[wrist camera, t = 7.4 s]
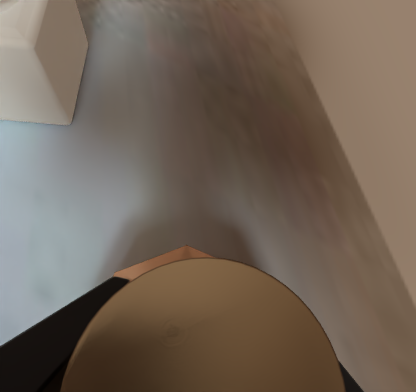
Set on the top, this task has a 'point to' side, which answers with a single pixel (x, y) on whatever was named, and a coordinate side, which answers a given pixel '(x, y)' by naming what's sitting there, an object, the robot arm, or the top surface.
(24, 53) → the medicine bottle
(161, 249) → the top surface
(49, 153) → the top surface
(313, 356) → the oak dowel
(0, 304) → the top surface
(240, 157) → the top surface
